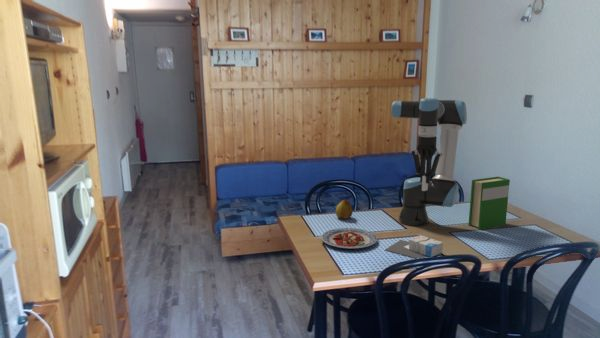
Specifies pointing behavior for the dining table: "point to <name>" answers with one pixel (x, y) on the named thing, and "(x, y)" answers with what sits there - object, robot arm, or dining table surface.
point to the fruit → (344, 209)
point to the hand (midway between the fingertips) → (424, 190)
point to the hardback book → (488, 202)
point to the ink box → (425, 246)
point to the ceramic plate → (349, 238)
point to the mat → (404, 250)
